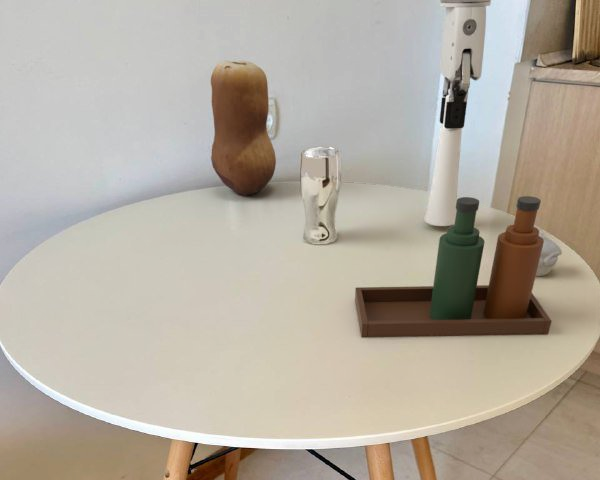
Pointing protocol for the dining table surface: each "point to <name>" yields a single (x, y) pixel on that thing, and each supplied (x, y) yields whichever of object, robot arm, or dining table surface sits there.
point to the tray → (417, 322)
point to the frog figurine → (547, 256)
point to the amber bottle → (515, 264)
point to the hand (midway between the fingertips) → (451, 124)
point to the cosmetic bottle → (445, 177)
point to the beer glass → (320, 192)
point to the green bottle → (458, 265)
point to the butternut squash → (241, 127)
